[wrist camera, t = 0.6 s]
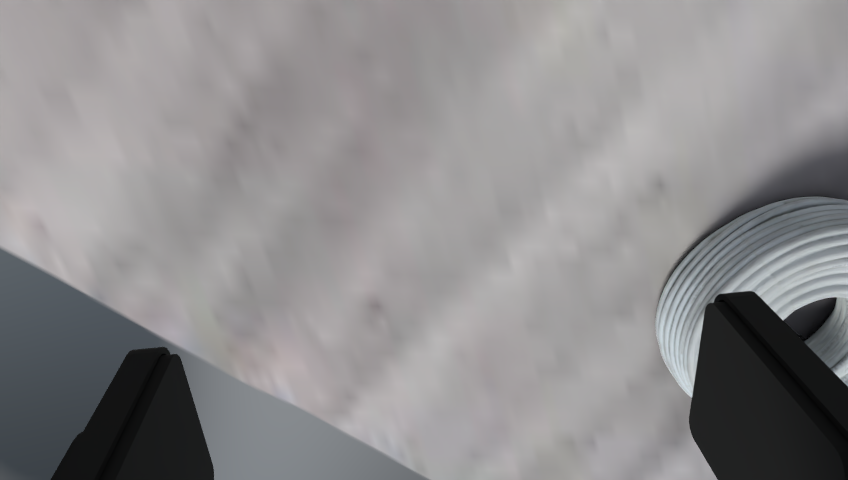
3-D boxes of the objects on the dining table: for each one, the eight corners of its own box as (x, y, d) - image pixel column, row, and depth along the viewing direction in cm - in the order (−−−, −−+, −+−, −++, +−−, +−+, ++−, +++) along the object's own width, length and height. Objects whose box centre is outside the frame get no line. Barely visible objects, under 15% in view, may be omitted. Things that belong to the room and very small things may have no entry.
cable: (911, 340, 49) (977, 394, 44) (689, 428, 52) (724, 489, 46) (877, 144, 42) (951, 179, 36) (619, 259, 44) (651, 308, 39)
